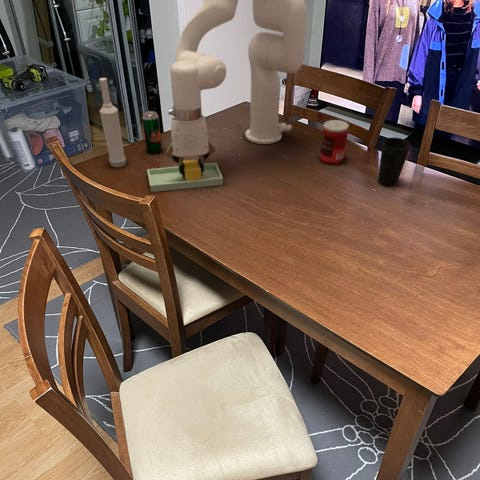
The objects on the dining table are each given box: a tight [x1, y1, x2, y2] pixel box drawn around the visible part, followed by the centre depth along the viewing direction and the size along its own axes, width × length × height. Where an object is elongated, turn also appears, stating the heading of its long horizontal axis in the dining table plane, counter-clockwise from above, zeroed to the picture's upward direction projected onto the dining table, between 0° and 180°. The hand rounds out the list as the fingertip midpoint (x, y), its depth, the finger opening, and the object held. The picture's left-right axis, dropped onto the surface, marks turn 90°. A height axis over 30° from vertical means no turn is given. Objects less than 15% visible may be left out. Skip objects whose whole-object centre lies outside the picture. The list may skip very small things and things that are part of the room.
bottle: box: [99, 77, 127, 168], centre depth 142 cm, size 5×5×25 cm
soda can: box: [141, 110, 163, 154], centre depth 153 cm, size 5×5×12 cm
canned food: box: [319, 119, 350, 165], centre depth 150 cm, size 8×8×11 cm
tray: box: [146, 162, 224, 193], centre depth 142 cm, size 21×10×2 cm, turn 103°
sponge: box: [183, 158, 201, 181], centre depth 141 cm, size 4×7×4 cm, turn 13°
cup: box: [377, 137, 412, 188], centre depth 139 cm, size 8×8×12 cm
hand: (191, 174), depth 142 cm, fingers closed on sponge, 4 cm apart
